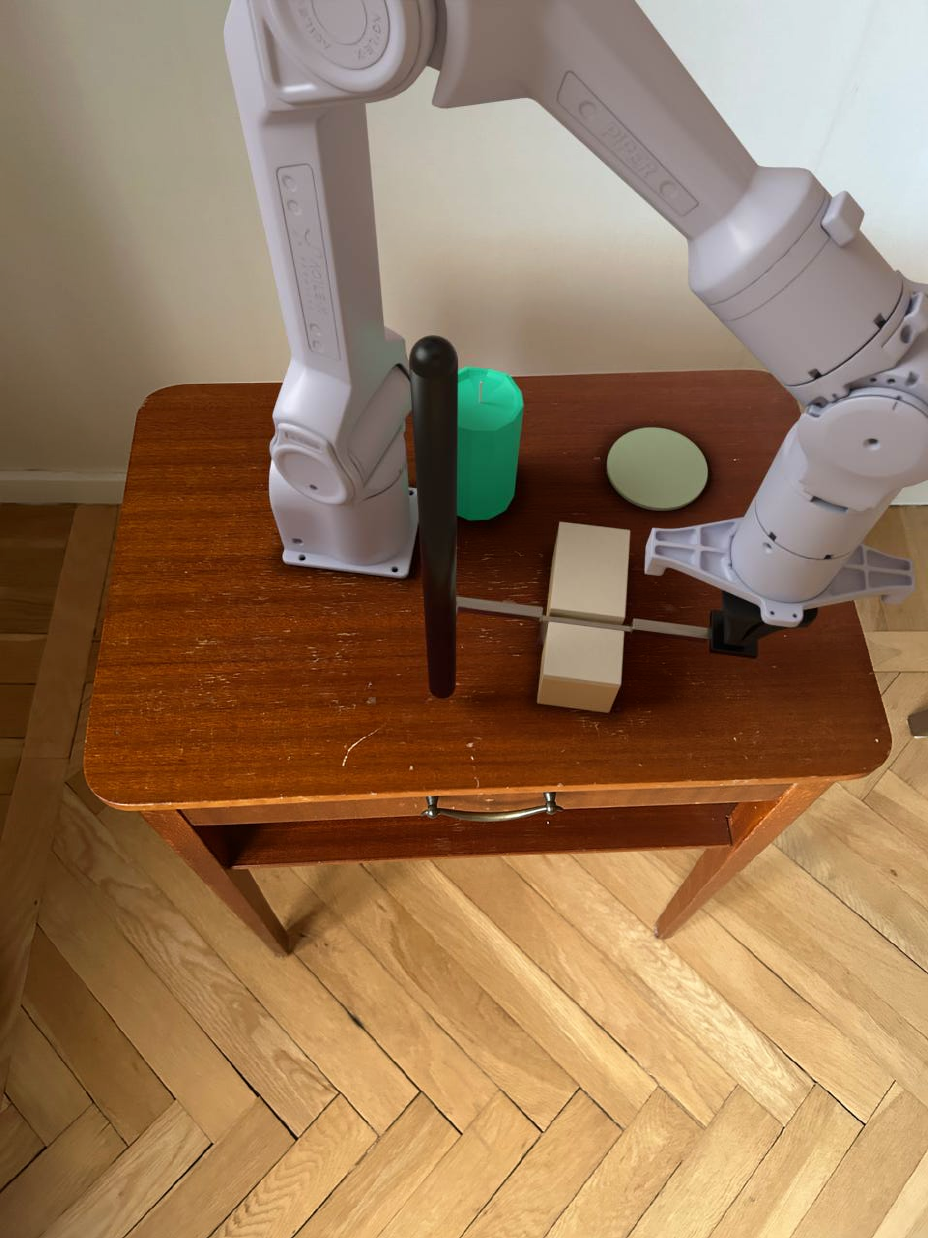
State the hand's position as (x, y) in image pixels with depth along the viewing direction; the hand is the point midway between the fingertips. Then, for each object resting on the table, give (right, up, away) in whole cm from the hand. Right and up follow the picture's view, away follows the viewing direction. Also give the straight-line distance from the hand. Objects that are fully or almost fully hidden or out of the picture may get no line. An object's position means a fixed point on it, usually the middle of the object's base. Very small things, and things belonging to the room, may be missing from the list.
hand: (735, 632), depth 57 cm
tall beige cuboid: (-9, +2, +7) cm, 12 cm away
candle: (-17, +11, +12) cm, 23 cm away
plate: (-2, +13, +13) cm, 19 cm away
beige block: (-10, -4, +5) cm, 11 cm away
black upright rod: (-9, -3, +4) cm, 11 cm away
